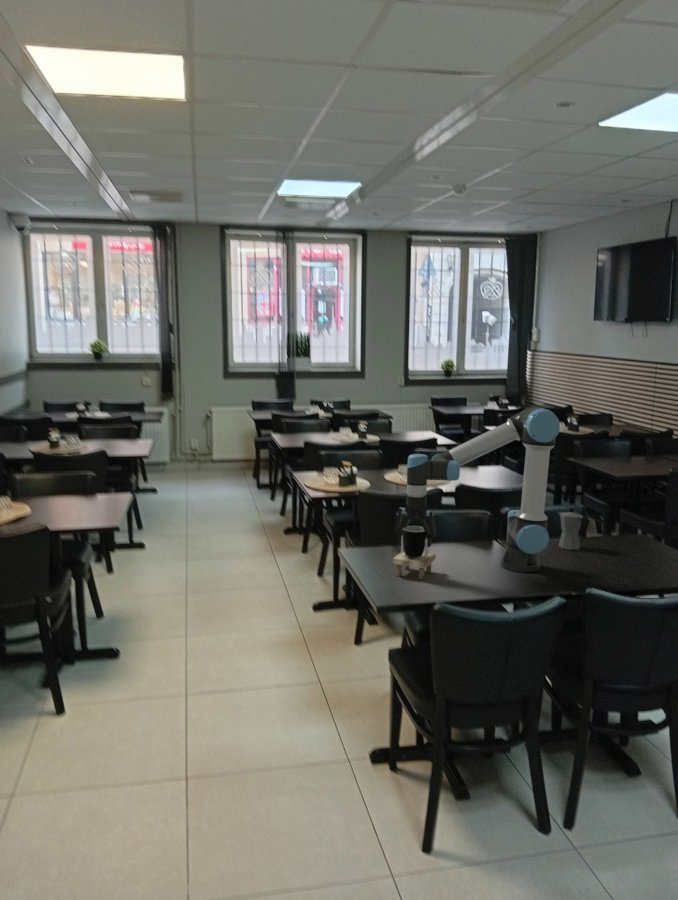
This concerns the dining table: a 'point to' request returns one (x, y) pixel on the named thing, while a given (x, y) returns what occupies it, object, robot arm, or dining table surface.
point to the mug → (414, 540)
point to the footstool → (414, 563)
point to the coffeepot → (571, 529)
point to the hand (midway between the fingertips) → (414, 552)
